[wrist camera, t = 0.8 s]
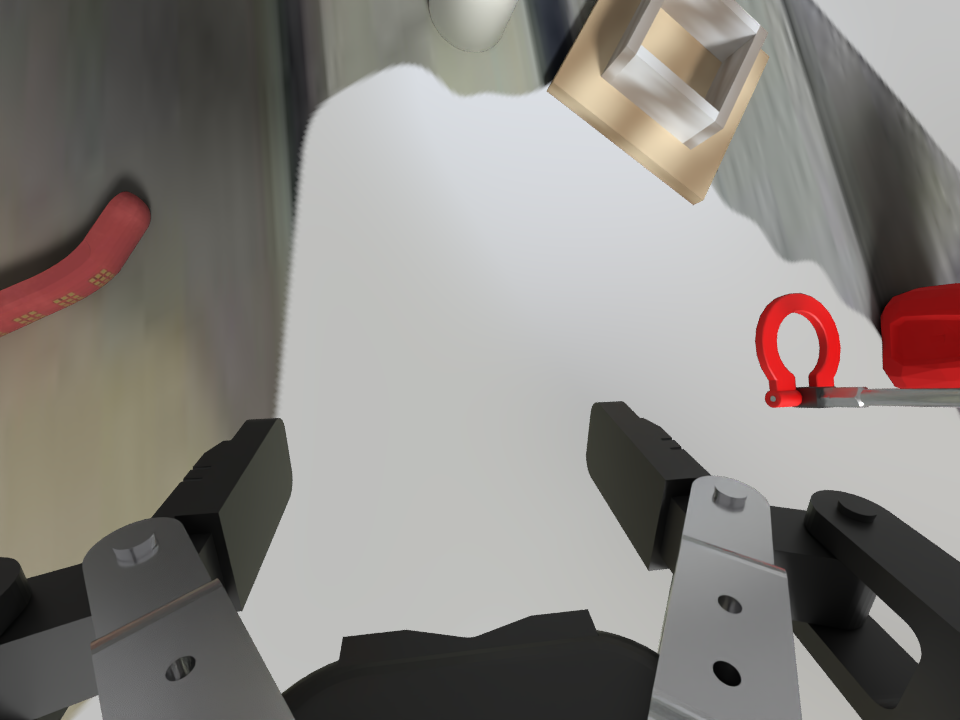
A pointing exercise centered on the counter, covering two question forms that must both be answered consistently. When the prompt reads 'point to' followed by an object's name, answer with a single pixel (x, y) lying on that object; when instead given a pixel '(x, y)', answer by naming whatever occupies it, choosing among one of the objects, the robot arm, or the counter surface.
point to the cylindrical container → (471, 22)
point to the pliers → (78, 266)
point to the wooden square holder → (665, 82)
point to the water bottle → (923, 338)
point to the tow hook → (826, 366)
